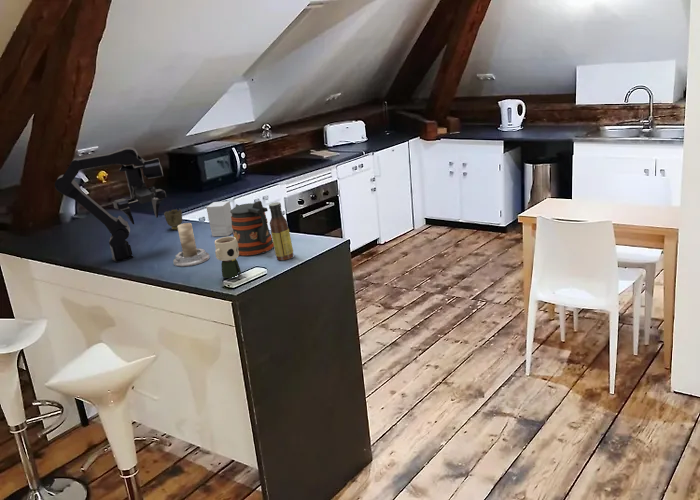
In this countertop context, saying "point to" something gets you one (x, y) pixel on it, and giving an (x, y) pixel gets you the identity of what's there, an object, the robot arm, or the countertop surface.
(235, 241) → the character mug
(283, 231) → the sauce bottle
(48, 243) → the countertop surface
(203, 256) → the socket ring
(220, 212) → the supplement box
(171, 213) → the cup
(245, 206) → the beer stein
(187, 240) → the knob post
